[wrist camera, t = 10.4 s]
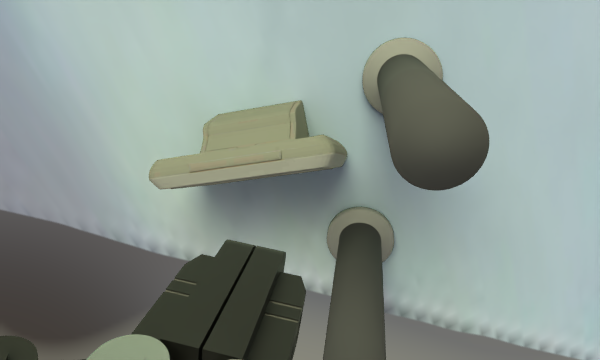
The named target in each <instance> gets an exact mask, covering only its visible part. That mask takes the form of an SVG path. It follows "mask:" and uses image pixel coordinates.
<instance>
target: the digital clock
mask: <svg viewBox="0 0 600 360" xmlns="http://www.w3.org/2000/svg"><path fill="white" fill-rule="evenodd" d="M346 159H347V152H346V150H345V148H344V147H343V146H342V145H341V144H340V143H339V142H338V141H336V140H334V139H332V138H330V137H327V136H324V135H317V136H313V137H309V133H308V128H307V123H306V117H305V112H304V107H303V103H302V101H301V100H300V101H294V102H289V103H283V104H277V105H271V106H265V107H259V108H253V109H247V110H241V111H236V112H230V113H224V114H218V115H217V116H215V117H214V118H213V119H211V120H210V121H208V122H207V123H206V124H205V125H204V127H203V143H202V148H201V151H200V154H194V155H187V156H180V157H174V158H167V159H161V160H157V161H156V162H155V163H154V164H153V166H152V167H151V169H150V172H149V180H150V181H151V182H152V183H153V184H154V185H155V186H156V187H158V188H159V189H170V188H171V189H176V188H186V187H195V186H205V185H214V184H222V183H229V182H237V181H244V180H252V179H259V178H267V177H274V176H282V175H289V174H297V173H304V172H311V171H319V170H326V169H333V168H336V167H342V165H343V164H344V162H345V160H346Z"/></svg>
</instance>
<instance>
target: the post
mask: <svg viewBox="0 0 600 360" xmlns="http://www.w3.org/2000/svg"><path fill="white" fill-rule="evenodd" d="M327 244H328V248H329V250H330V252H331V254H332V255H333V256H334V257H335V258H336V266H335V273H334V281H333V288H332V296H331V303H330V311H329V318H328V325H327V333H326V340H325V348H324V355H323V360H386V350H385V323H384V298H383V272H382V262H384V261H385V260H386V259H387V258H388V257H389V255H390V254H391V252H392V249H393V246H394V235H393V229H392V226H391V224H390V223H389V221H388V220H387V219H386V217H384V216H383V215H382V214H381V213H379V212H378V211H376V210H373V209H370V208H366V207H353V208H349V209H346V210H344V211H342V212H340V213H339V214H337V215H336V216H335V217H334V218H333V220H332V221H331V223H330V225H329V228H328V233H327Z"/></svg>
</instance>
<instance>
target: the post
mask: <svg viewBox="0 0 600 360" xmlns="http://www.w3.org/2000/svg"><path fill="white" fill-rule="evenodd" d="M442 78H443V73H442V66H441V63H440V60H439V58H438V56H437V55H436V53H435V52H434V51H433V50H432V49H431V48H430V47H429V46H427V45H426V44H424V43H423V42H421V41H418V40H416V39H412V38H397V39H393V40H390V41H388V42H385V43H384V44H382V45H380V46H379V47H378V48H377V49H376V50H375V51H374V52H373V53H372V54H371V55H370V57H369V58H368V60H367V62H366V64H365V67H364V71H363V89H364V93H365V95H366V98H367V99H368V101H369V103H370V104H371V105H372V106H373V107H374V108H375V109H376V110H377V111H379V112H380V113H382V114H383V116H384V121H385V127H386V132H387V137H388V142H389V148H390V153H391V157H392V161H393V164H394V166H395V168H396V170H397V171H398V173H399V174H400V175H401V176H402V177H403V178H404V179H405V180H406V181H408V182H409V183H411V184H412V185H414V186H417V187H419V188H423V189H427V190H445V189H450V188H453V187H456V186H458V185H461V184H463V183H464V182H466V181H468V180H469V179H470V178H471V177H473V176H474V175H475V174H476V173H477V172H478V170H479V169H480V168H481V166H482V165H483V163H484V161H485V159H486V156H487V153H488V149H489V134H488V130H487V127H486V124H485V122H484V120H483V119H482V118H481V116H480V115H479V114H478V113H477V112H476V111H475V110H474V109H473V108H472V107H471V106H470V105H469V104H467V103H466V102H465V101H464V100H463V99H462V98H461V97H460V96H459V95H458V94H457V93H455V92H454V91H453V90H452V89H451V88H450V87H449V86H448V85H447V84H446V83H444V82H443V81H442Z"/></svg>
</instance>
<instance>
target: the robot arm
mask: <svg viewBox="0 0 600 360" xmlns="http://www.w3.org/2000/svg"><path fill="white" fill-rule="evenodd" d="M285 258H286V252H283V251H278V250H273V249H269V248H264V247H260V246H257V247H256V246H255V245H250V244H246V243H241V242H237V241H232V240H226V241H225V243H224V244H223V246H222V247H221V249H220V250H219V252H218V253H217V254H216V256H215V257H211V256H207V255H203V254H202V255H200V256H198V257H197V258H195V259H193V260H191V261H190V262H188V263H186V264H185V265H184V266H183V268H182V269H181V270H180V271H179V273H178V274H177V275H176V277H175V279H174V280H173V281H172V282H171V283H170V284H169V286H168V287H167V288H166V291H165V292H163V294H162V295H161V296H160V297H159V299H158V300H157V301H156V303H155V304H154V305H153V307H152V308H151V309H150V310H149V312H148V313H147V314H146V316H145V317H144V318H143V320H142V321H141V322H140V324H139V325H138V326H137V327H136V329H135V330H134V332H132V334H131V335H125V336H121V337H117V338H115V339H112V340H110V341H108V342H106V343H104V344H103V345H101V346H100V347H99V348H97V349H96V350H95V351H94V352H93V353H92V354H91V355H90V356H89V357H88V358H87V359H83V360H292V359H293V355H294V351H295V347H296V343H297V339H298V334H299V328H300V323H301V317H302V312H303V306H304V301H305V295H306V290H305V287H304V284H303V281H302V278H301V276H296V275H292V274H287V273H283V272H284V265H285ZM0 360H38V354H37V349H36V347H35V346H34V344H32V343H31V342H30V341H28V340H27V339H24V338H21V337H16V336H0Z"/></svg>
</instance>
